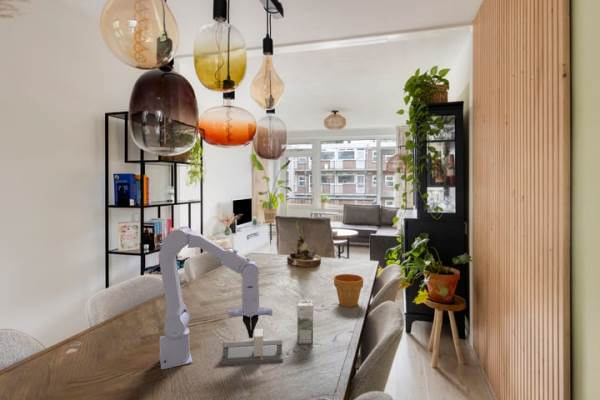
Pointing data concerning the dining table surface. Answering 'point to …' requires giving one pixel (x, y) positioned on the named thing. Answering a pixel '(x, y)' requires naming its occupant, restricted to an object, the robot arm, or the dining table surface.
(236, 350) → the pipe stand
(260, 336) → the collar
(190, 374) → the dining table surface
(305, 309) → the syrup box
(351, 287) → the flower pot
